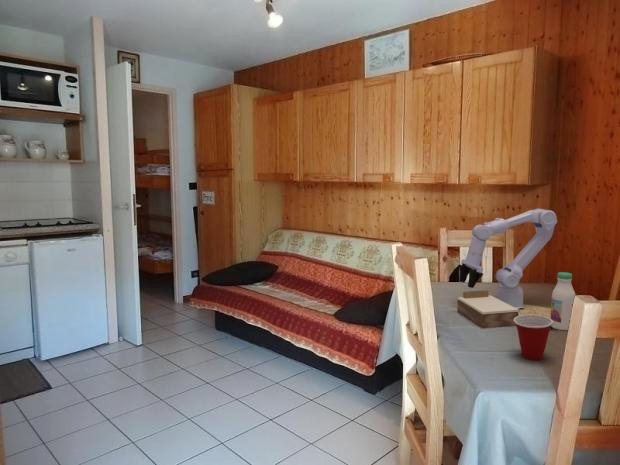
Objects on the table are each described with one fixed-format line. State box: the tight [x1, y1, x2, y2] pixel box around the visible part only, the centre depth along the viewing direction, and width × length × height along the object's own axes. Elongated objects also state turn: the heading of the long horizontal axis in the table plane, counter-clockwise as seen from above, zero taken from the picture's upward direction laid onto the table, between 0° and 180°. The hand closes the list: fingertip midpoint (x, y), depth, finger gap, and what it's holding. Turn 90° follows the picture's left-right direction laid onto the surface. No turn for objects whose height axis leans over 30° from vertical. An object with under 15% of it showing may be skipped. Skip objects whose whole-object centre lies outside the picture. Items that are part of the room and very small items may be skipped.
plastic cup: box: [514, 313, 553, 361], centre depth 137 cm, size 11×11×12 cm
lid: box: [457, 289, 520, 314], centre depth 173 cm, size 14×20×3 cm
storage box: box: [457, 299, 520, 329], centre depth 174 cm, size 14×20×5 cm
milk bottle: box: [550, 271, 576, 331], centre depth 160 cm, size 8×8×20 cm
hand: (466, 284), depth 186 cm, fingers open, 7 cm apart
